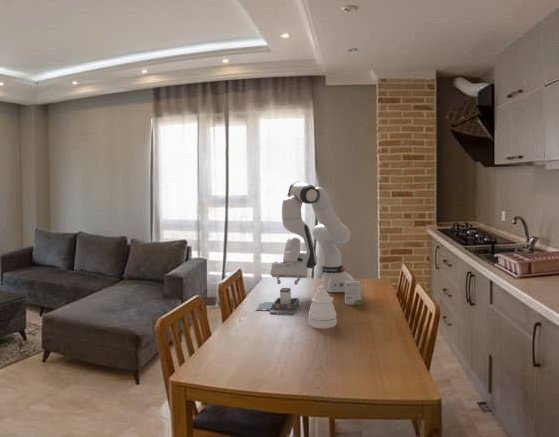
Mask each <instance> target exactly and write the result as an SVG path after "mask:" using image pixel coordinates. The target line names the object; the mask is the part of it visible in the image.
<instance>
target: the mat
mask: <svg viewBox="0 0 559 437" xmlns="http://www.w3.org/2000/svg"><path fill="white" fill-rule="evenodd" d="M263 302H264V303H262V304H261V302H260V303H259V304H258V305H257V306H259V307H257V306H256V307H257V308H258V309H266V310H270V309H271V308H272V304H273V302H274V301H273V302H272V301H263ZM271 310H272V309H271ZM271 310H270V311H271Z"/></svg>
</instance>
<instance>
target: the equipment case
mask: <svg viewBox="0 0 559 437" xmlns="http://www.w3.org/2000/svg"><path fill="white" fill-rule="evenodd" d="M299 306H300V298H294V297H291V304H281V302H280V297H276V299H275V300H274V301H273V304H272V309H271V310H270V311H269V314H270V313H278V314H277V315H285V314H289V315H291V316H293V315H294V314H295V313H296V311H297V309H298V307H299ZM289 315H288V316H289Z"/></svg>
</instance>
